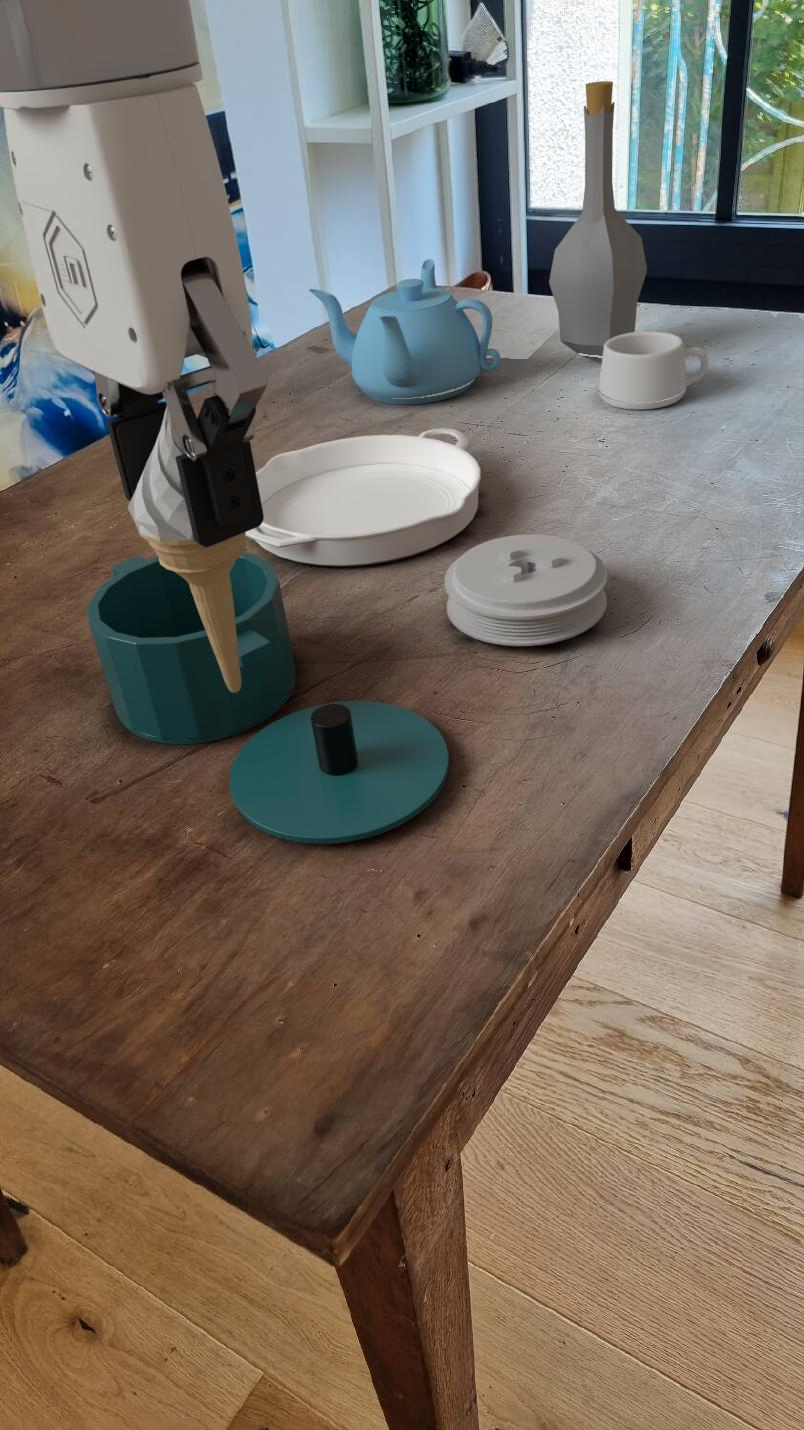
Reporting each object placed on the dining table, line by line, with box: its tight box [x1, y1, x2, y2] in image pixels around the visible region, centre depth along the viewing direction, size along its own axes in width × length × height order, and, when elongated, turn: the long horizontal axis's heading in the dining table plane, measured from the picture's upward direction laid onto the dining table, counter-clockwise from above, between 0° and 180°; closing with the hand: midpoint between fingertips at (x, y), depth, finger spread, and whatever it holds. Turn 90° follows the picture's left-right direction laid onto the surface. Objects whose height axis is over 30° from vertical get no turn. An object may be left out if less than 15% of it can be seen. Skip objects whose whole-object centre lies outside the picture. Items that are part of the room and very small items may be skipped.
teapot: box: [308, 258, 502, 405], centre depth 132 cm, size 17×19×12 cm
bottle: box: [548, 80, 648, 363], centre depth 127 cm, size 11×11×30 cm
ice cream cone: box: [127, 407, 247, 693], centre depth 51 cm, size 6×6×15 cm
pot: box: [86, 551, 297, 745], centre depth 82 cm, size 14×19×8 cm
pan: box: [245, 427, 482, 568], centre depth 106 cm, size 24×27×4 cm
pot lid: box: [228, 700, 450, 845], centre depth 73 cm, size 15×15×5 cm
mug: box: [598, 330, 709, 410], centre depth 123 cm, size 12×10×6 cm
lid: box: [444, 533, 608, 647], centre depth 87 cm, size 13×13×5 cm
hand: (193, 509), depth 50 cm, fingers closed on ice cream cone, 5 cm apart
